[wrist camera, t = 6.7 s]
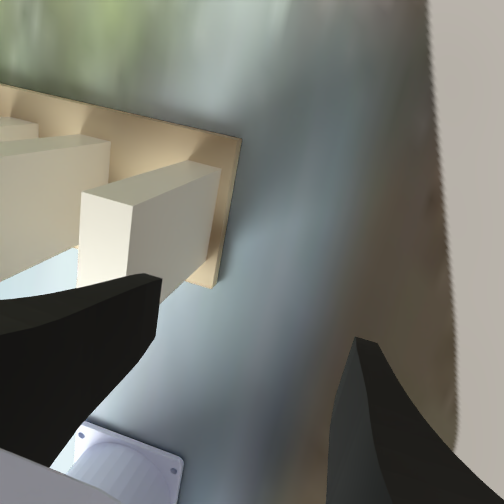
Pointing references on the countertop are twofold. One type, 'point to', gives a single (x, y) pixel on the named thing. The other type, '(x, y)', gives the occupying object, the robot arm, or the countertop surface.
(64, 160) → the domino
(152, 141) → the oak strip
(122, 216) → the domino
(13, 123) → the domino
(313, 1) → the countertop surface
